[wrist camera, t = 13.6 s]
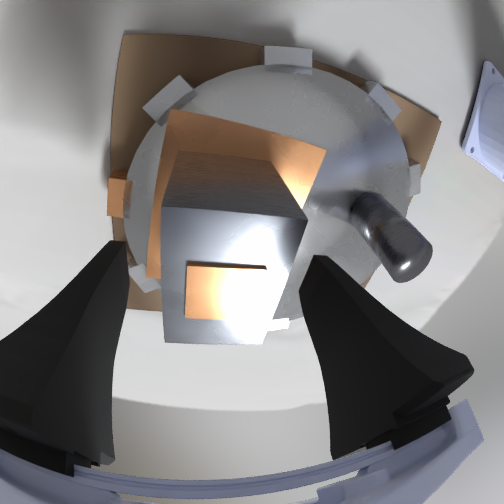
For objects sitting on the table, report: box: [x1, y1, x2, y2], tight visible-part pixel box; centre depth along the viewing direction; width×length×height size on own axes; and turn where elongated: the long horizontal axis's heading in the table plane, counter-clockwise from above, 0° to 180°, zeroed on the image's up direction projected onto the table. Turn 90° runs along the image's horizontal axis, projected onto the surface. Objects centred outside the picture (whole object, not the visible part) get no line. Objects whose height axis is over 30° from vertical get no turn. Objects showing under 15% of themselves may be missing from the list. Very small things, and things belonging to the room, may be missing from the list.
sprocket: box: [107, 46, 433, 331], centre depth 12 cm, size 18×18×6 cm
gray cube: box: [160, 151, 308, 344], centre depth 11 cm, size 4×6×5 cm, turn 168°
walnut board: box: [111, 34, 442, 312], centre depth 15 cm, size 18×17×1 cm
